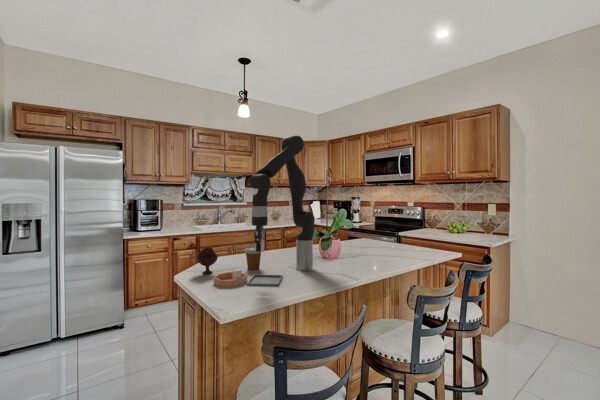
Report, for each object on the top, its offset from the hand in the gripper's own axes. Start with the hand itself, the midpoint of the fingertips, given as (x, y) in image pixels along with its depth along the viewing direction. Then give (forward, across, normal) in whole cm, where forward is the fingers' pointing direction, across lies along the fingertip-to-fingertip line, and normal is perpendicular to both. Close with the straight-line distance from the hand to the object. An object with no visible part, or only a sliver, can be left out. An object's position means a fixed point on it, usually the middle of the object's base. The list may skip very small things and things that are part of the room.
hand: (259, 250), depth 144 cm
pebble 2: (0, 0, 0) cm, 0 cm away
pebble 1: (+15, +1, -10) cm, 19 cm away
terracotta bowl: (+16, +1, -14) cm, 21 cm away
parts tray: (+16, -2, +3) cm, 16 cm away
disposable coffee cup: (+16, -25, -8) cm, 31 cm away
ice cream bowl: (+16, -15, -31) cm, 38 cm away
